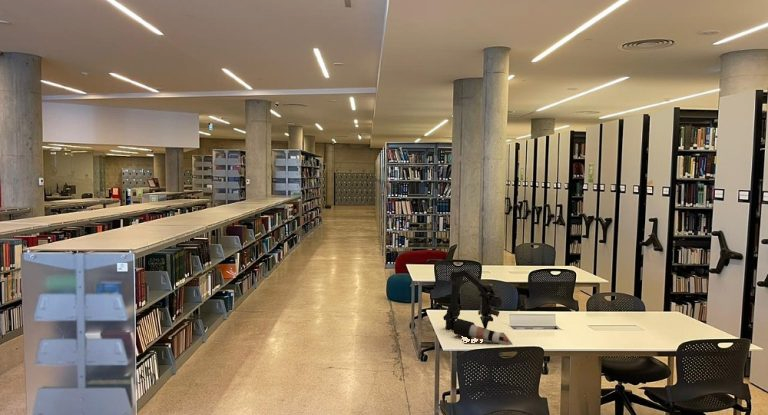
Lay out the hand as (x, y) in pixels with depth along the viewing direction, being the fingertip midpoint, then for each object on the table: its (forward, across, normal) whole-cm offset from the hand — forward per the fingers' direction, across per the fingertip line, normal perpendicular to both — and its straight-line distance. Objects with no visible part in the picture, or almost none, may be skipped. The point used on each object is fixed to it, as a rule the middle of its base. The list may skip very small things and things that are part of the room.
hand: (485, 329), depth 339 cm
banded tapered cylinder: (+6, -3, +3) cm, 8 cm away
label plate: (+6, +2, 0) cm, 6 cm away
